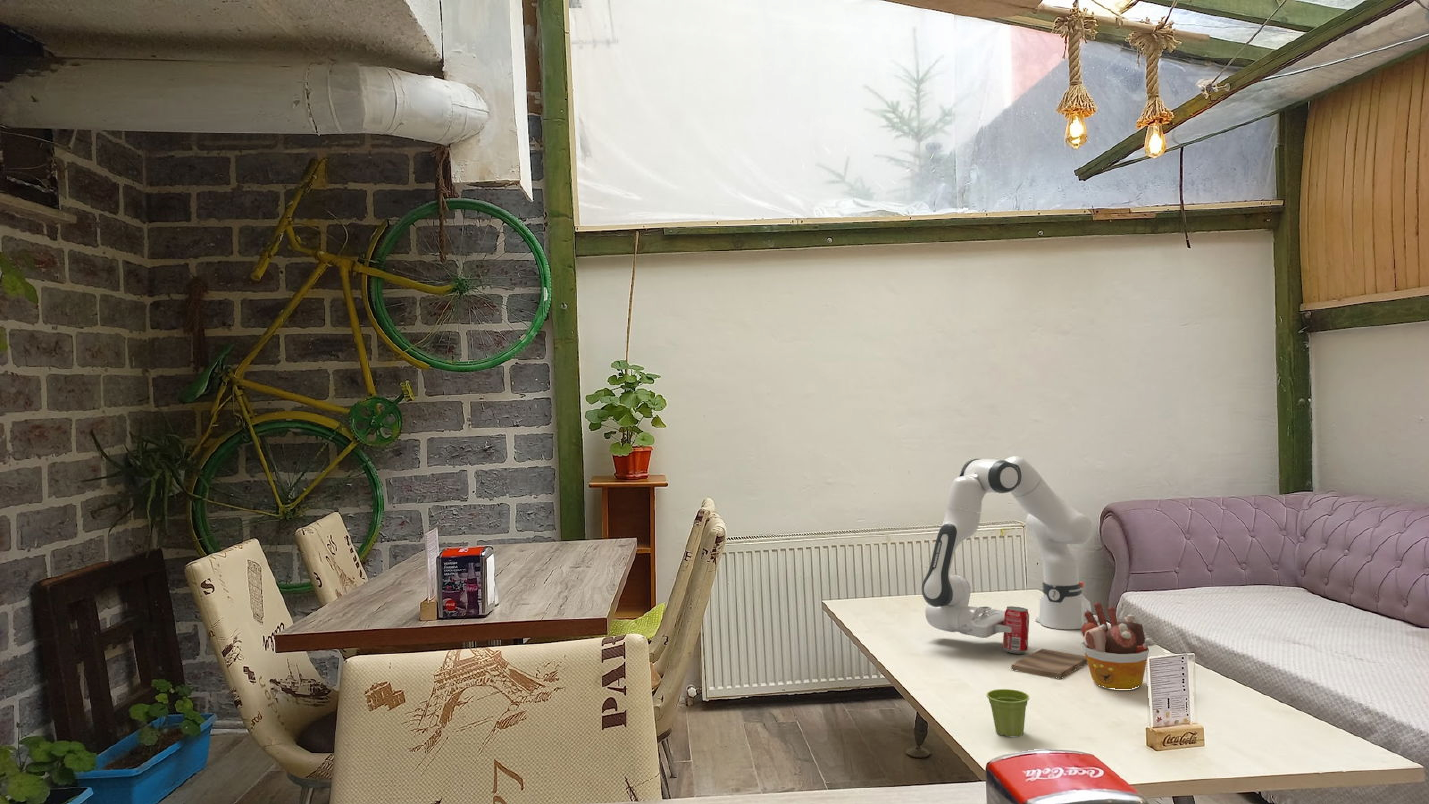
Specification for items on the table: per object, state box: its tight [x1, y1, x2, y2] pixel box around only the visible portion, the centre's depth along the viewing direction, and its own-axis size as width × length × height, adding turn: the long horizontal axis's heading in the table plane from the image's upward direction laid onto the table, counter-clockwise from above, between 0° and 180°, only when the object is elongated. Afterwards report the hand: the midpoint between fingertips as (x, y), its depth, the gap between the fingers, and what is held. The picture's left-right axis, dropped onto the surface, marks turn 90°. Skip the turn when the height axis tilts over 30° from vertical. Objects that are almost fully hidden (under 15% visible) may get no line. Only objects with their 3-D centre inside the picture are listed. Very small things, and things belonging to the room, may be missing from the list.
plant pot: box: [986, 688, 1030, 737], centre depth 200 cm, size 9×9×9 cm
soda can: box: [1002, 606, 1030, 655], centre depth 262 cm, size 7×7×13 cm
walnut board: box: [1011, 648, 1088, 679], centre depth 248 cm, size 20×14×2 cm
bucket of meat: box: [1081, 601, 1156, 689], centre depth 230 cm, size 20×16×20 cm
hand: (1016, 628), depth 261 cm, fingers closed on soda can, 3 cm apart
